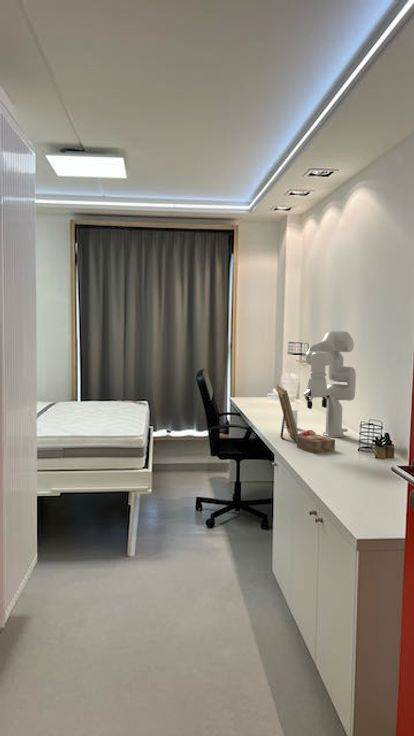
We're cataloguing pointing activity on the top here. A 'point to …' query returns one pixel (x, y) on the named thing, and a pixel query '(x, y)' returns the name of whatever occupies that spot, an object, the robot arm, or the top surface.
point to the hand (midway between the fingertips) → (317, 407)
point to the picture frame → (287, 413)
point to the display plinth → (316, 443)
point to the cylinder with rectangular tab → (294, 418)
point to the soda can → (306, 433)
